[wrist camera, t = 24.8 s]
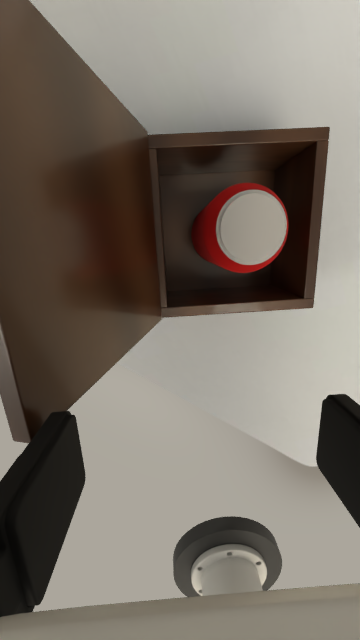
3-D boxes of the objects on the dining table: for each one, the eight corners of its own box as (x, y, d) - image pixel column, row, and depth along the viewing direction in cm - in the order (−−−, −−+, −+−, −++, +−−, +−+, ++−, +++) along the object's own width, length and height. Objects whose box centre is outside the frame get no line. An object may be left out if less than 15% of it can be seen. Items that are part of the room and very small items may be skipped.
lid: (-129, -177, 5) (-296, -73, 6) (32, 444, 9) (-91, 426, 10) (147, 131, 18) (77, 142, 20) (162, 319, 22) (102, 318, 24)
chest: (280, 162, 28) (330, 126, 19) (274, 290, 32) (313, 308, 23) (150, 168, 27) (142, 134, 19) (160, 297, 31) (157, 318, 23)
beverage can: (216, 191, 27) (251, 153, 16) (257, 231, 29) (317, 223, 17) (178, 237, 29) (186, 233, 17) (220, 274, 30) (253, 293, 18)
